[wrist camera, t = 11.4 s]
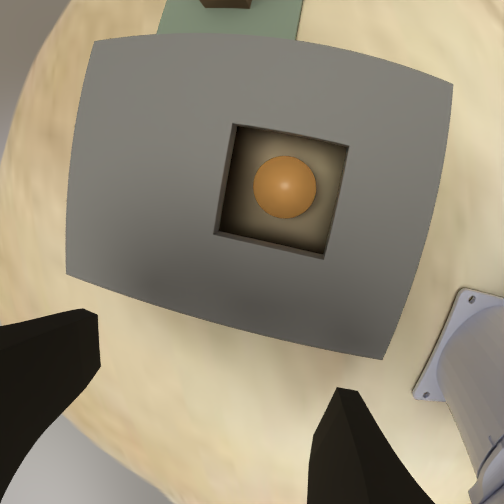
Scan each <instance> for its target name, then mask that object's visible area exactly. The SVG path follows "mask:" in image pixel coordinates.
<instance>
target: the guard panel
mask: <svg viewBox="0 0 504 504" xmlns="http://www.w3.org/2000/svg"><path fill="white" fill-rule="evenodd" d="M452 94H453V84H452V83H449V82H447V81H444V80H442V79H439V78H437V77H434V76H432V75H429V74H426V73H423V72H421V71H418V70H415V69H412V68H409V67H406V66H403V65H400V64H397V63H394V62H390V61H387V60H384V59H380V58H377V57H373V56H369V55H366V54H362V53H358V52H354V51H349V50H345V49H340V48H336V47H331V46H326V45H321V44H315V43H310V42H303V41H297V40H290V39H283V38H275V37H265V36H255V35H242V34H223V33H172V34H153V35H140V36H130V37H121V38H113V39H106V40H99V41H94V44H93V48H92V51H91V55H90V59H89V63H88V66H87V70H86V74H85V79H84V83H83V87H82V92H81V97H80V102H79V107H78V112H77V118H76V124H75V130H74V137H73V144H72V151H71V160H70V169H69V179H68V192H67V209H66V274H67V275H70V276H72V277H75V278H78V279H80V280H83V281H86V282H88V283H91V284H94V285H97V286H100V287H102V288H105V289H108V290H111V291H114V292H117V293H120V294H123V295H126V296H128V297H131V298H134V299H138V300H141V301H144V302H147V303H150V304H153V305H156V306H159V307H163V308H166V309H169V310H172V311H176V312H179V313H182V314H186V315H189V316H193V317H196V318H199V319H203V320H206V321H210V322H214V323H217V324H221V325H225V326H228V327H232V328H236V329H240V330H244V331H247V332H251V333H255V334H259V335H263V336H268V337H272V338H276V339H280V340H284V341H289V342H293V343H298V344H302V345H307V346H311V347H316V348H321V349H325V350H330V351H335V352H340V353H346V354H351V355H356V356H362V357H367V358H373V359H379V360H383V357H384V355H385V353H386V351H387V348H388V346H389V344H390V341H391V339H392V336H393V334H394V331H395V329H396V327H397V324H398V321H399V319H400V316H401V314H402V311H403V308H404V306H405V303H406V300H407V297H408V295H409V292H410V289H411V286H412V283H413V280H414V277H415V274H416V271H417V268H418V265H419V261H420V258H421V255H422V251H423V248H424V245H425V241H426V237H427V234H428V230H429V226H430V222H431V219H432V214H433V210H434V206H435V202H436V197H437V193H438V188H439V184H440V179H441V174H442V168H443V163H444V157H445V151H446V145H447V138H448V131H449V123H450V115H451V105H452ZM237 126H242V127H248V128H255V129H261V130H267V131H272V132H278V133H283V134H289V135H294V136H299V137H304V138H309V139H313V140H318V141H323V142H327V143H331V144H336V145H340V146H344V147H347V150H346V155H345V160H344V165H343V170H342V175H341V180H340V185H339V189H338V194H337V199H336V203H335V207H334V212H333V216H332V221H331V225H330V229H329V233H328V237H327V241H326V245H325V250H324V254H323V255H322V254H318V253H314V252H309V251H305V250H301V249H296V248H292V247H288V246H283V245H279V244H275V243H270V242H266V241H261V240H257V239H253V238H248V237H244V236H239V235H235V234H230V233H226V232H221V231H219V226H220V220H221V214H222V208H223V202H224V196H225V190H226V184H227V179H228V173H229V167H230V162H231V156H232V151H233V146H234V140H235V135H236V130H237Z"/></svg>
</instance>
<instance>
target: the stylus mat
mask: <svg viewBox="0 0 504 504" xmlns="http://www.w3.org/2000/svg"><path fill="white" fill-rule="evenodd" d="M302 4H303V0H252V2H251V6H250V9H239V8H205V7H204V6H203V5H202V3H201V2H200V1H199V0H167V2H166V5H165V8H164V11H163V14H162V17H161V20H160V24H159V27H158V30H157V34H172V33H223V34H242V35H255V36H265V37H275V38H283V39H290V40H296V36H297V30H298V25H299V20H300V14H301V9H302Z"/></svg>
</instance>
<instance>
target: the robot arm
mask: <svg viewBox="0 0 504 504" xmlns="http://www.w3.org/2000/svg"><path fill="white" fill-rule="evenodd" d="M471 296H473V298H472V300H471V301H469V298H470V297H471ZM100 367H101V363H100V350H99V333H98V315H97V314H95V313H92V312H90V311H88V310H85V309H76V310H71V311H66V312H61V313H57V314H53V315H49V316H45V317H41V318H37V319H32V320H28V321H24V322H20V323H15V324H10V325H5V326H0V503H1V500H2V498H3V495H4V493H5V491H6V489H7V487H8V485H9V484H10V482H11V480H12V478H13V476H14V474H15V473H16V471H17V469H18V468H19V466H20V464H21V463H22V461H23V460H24V458H25V456H26V455H27V454H28V452H29V451H30V449H31V448H32V447H33V445H34V444H35V442H36V441H37V440H38V438H39V437H40V436H41V435H42V434H43V432H44V431H45V430H46V429H47V428H48V427H49V426H50V425H51V424H52V423H53V422H54V421H55V420H56V419H57V418H58V417H59V416H60V414H61V413H62V412H63V411H64V410H65V409H66V408H67V407H68V406H69V405H70V404H71V403H72V402H73V401H74V400H75V399H76V398H77V397H78V396H79V395H80V394H81V393H82V391H83V390H84V389H85V388H86V387H87V385H88V384H89V383H90V381H91V380H92V379H93V377H94V376H95V374H96V373H97V371H98V370H99V368H100ZM426 392H427V393H426ZM424 393H426V394H424ZM412 394H413V397H414V398H415V399H417V400H429V401H441V402H447V405H448V407H449V409H450V411H451V414H452V416H453V418H454V420H455V423H456V425H457V428H458V430H459V432H460V435H461V437H462V440H463V442H464V445H465V447H466V450H467V452H468V455H469V458H470V460H471V463H472V466H473V468H474V471H475V474H476V477H477V479H478V480H477V482H476V483H475V484H474V486H473V487H472V488H470V489H469V491H468V493H469V496H470V500H471V503H472V504H504V298H503V297H499V296H495V295H492V294H488V293H484V292H480V291H476V290H472V289H468V288H463V289H461V290H460V291H459V292H458V294H457V296H456V299H455V302H454V304H453V307H452V309H451V312H450V314H449V317H448V319H447V321H446V324H445V326H444V328H443V331H442V333H441V335H440V338H439V340H438V342H437V344H436V346H435V348H434V351H433V353H432V355H431V357H430V359H429V361H428V363H427V365H426V367H425V369H424V371H423V373H422V375H421V377H420V378H419V380H418V382H417V384H416V386H415V388H414V389H413V392H412ZM307 504H435V503H434V502H433V501H432V500H431V498H430V497H429V496H428V495H427V494H426V493H425V492H424V491H423V489H422V488H421V487H420V486H419V485H418V483H417V482H416V481H415V480H414V478H413V477H412V476H411V474H410V473H409V472H408V470H407V469H406V468H405V466H404V465H403V463H402V462H401V461H400V459H399V458H398V456H397V455H396V453H395V452H394V450H393V449H392V447H391V446H390V444H389V443H388V441H387V439H386V438H385V436H384V435H383V433H382V431H381V430H380V428H379V426H378V425H377V423H376V421H375V420H374V418H373V416H372V414H371V413H370V411H369V409H368V408H367V406H366V404H365V402H364V401H363V399H362V397H361V396H360V394H359V392H358V391H355V390H350V389H344V388H339V387H337V388H336V390H335V392H334V394H333V397H332V399H331V401H330V403H329V405H328V407H327V409H326V411H325V413H324V415H323V417H322V419H321V421H320V423H319V425H318V427H317V429H316V431H315V433H314V435H313V441H312V447H311V453H310V460H309V471H308V494H307Z"/></svg>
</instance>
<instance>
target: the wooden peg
mask: <svg viewBox="0 0 504 504" xmlns="http://www.w3.org/2000/svg"><path fill="white" fill-rule="evenodd" d="M199 1H200V2H201V3H202V5H203V6H204V7H205V8H239V9H250V6H251V2H252V0H199Z"/></svg>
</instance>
